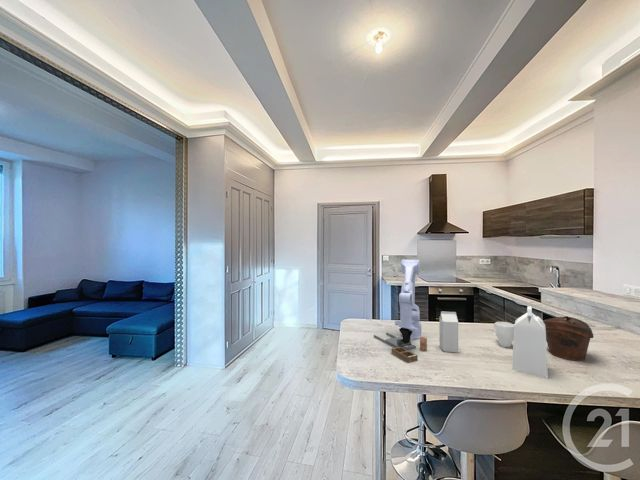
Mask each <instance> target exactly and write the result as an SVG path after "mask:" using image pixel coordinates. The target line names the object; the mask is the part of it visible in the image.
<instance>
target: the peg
mask: <svg viewBox="0 0 640 480" xmlns="http://www.w3.org/2000/svg"><path fill="white" fill-rule="evenodd" d="M419 350H420V351H421V352H427V351H428V338H427V337H424V336H423V337H420V338H419Z"/></svg>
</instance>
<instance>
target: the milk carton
mask: <svg viewBox="0 0 640 480" xmlns="http://www.w3.org/2000/svg"><path fill="white" fill-rule="evenodd" d="M438 320H439V321H438V322H439V327H438V328H439V331H438V333H439V335H438V336H439V347H440V349H441V351H442V352H447V353H456V354H457V353H459V320H458V316H457V312H456V311H440V316H439V319H438Z"/></svg>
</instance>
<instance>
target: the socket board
mask: <svg viewBox="0 0 640 480" xmlns="http://www.w3.org/2000/svg"><path fill="white" fill-rule="evenodd" d="M390 350H391V352H390V353H391V354H392V355H393V356H394V357H396V358H399V359H400V360H402V361H404V362H405V363H407V364H411V363H414V362H416V361H419V360H418V359H419V358H418V355H417V354H416V353H414V352H412V351H410V350H406V349H404V348H402V347H396V348H393V347H392V348H391V349H390Z"/></svg>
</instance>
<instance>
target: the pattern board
mask: <svg viewBox="0 0 640 480" xmlns="http://www.w3.org/2000/svg"><path fill="white" fill-rule="evenodd" d="M385 334H386V336H388V337H390V338H395V337H397V336H395V335H394V334H391V333H389V332H386V333H385ZM373 338H374V339H377V340H378V341H380V342H381V343H382V342H383V343H384V344H386V345H388V346H390V347H391V348H392V349H393V348H396V347H397V346H395V345H393V344H391V343H389V342H387V341H385V339H383V338H381V337H379V336H378V335H376V334H373ZM399 347H402V348H404V349H406V350H408V351H410V350H414V349H417V346H416V345H415V344H413V343H412V344H408V345H403V346H399Z"/></svg>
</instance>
